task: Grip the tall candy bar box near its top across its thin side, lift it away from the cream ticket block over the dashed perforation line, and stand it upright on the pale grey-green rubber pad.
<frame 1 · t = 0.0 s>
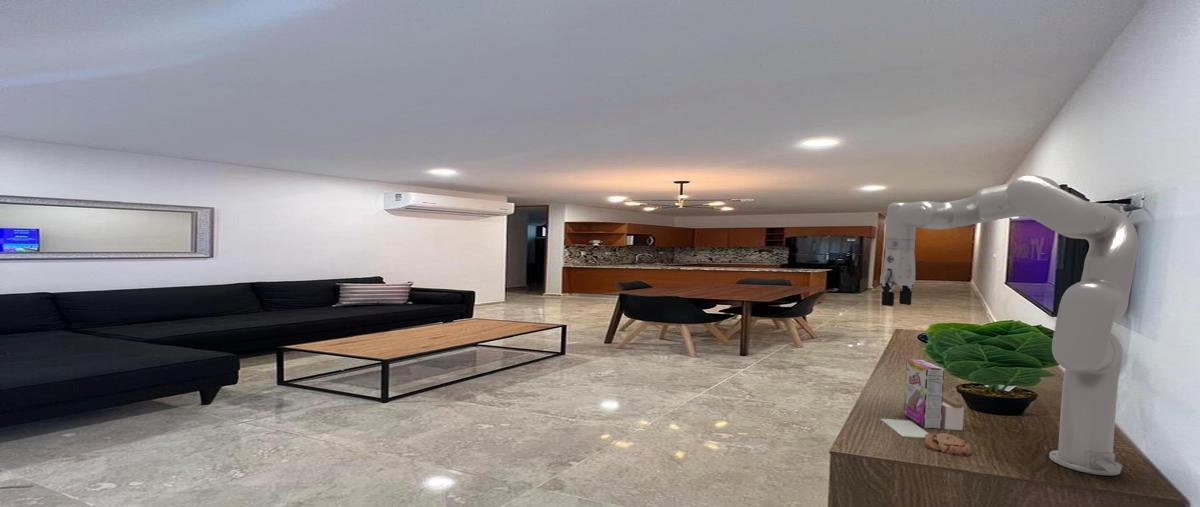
hand: (896, 305, 170), 31 cm above the tv stand, tool pointing down, fingers open, 9 cm apart
cookie: (946, 450, 142), on the tv stand
stub pad: (906, 428, 155), on the tv stand
ticket block: (942, 422, 162), on the tv stand
candy bar box: (921, 423, 162), on the tv stand
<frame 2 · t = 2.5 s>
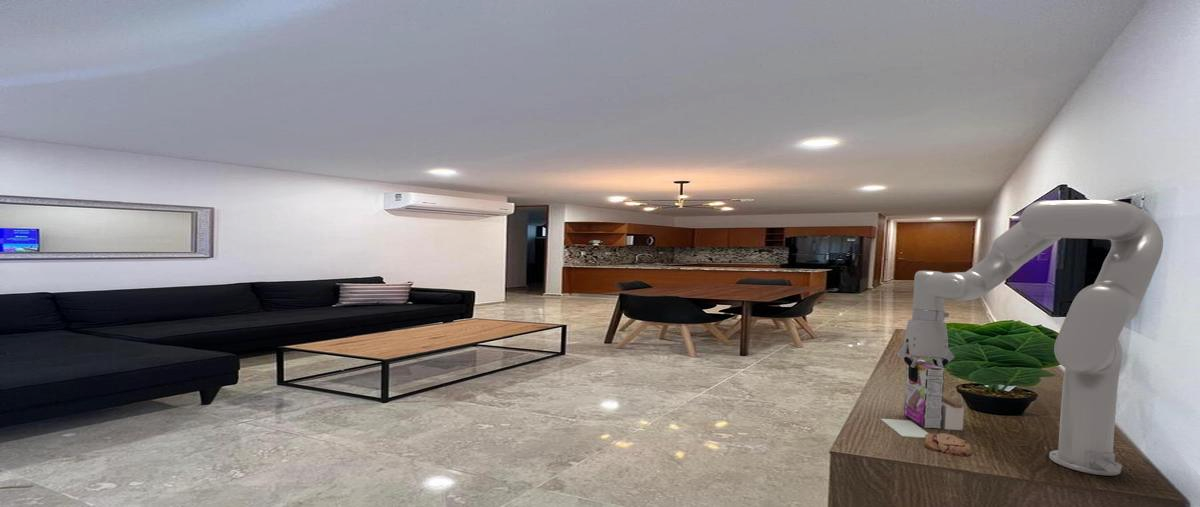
hand: (923, 381, 161), 11 cm above the tv stand, tool pointing down, fingers closed on candy bar box, 5 cm apart
candy bar box: (921, 423, 162), on the tv stand, touching gripper
everything else where it was.
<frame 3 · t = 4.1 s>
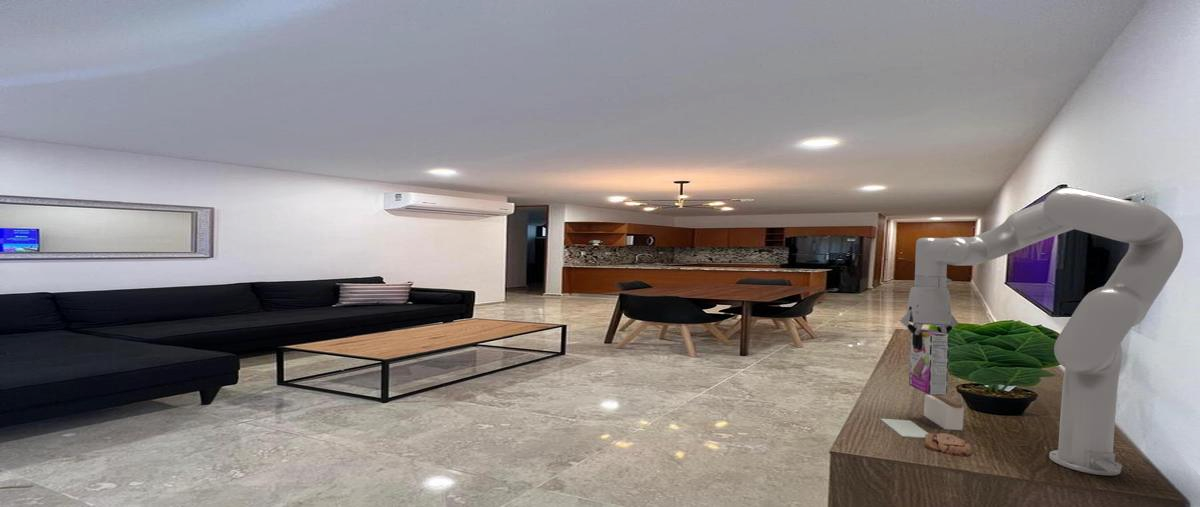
hand: (928, 348, 161), 21 cm above the tv stand, tool pointing down, fingers closed on candy bar box, 5 cm apart
candy bar box: (927, 391, 161), point 9 cm above the tv stand, touching gripper
everything else where it was.
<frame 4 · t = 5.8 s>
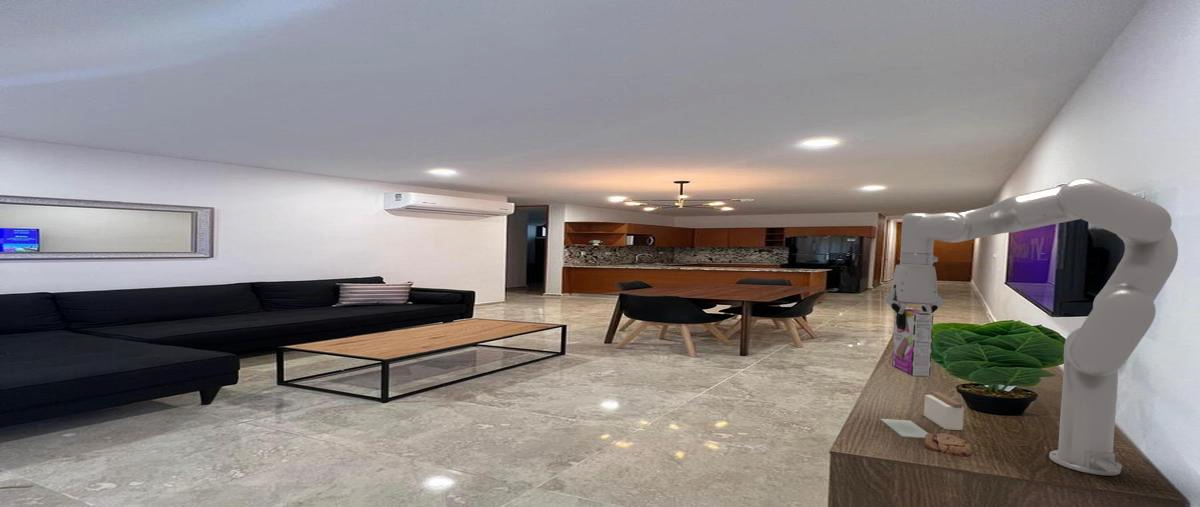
hand: (912, 328, 155), 27 cm above the tv stand, tool pointing down, fingers closed on candy bar box, 5 cm apart
candy bar box: (909, 372, 155), point 15 cm above the tv stand, touching gripper
everything else where it was.
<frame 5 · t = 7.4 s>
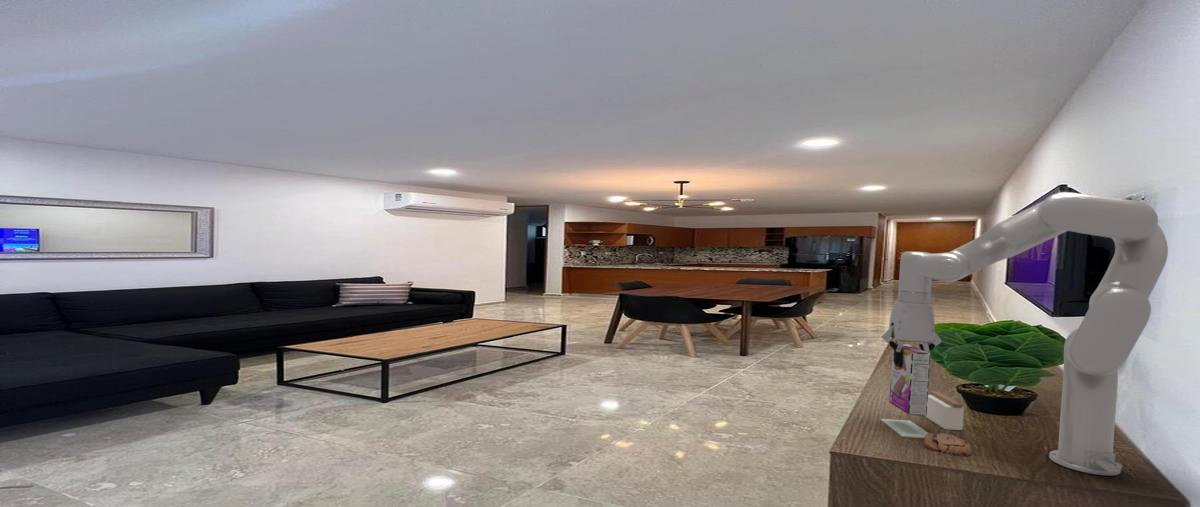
hand: (909, 366, 155), 17 cm above the tv stand, tool pointing down, fingers closed on candy bar box, 5 cm apart
candy bar box: (906, 410, 155), point 5 cm above the tv stand, touching gripper
everything else where it was.
when the fingers open (12 cm above the tv stand, at t = 8.7 s): candy bar box stays where it is, resting on stub pad.
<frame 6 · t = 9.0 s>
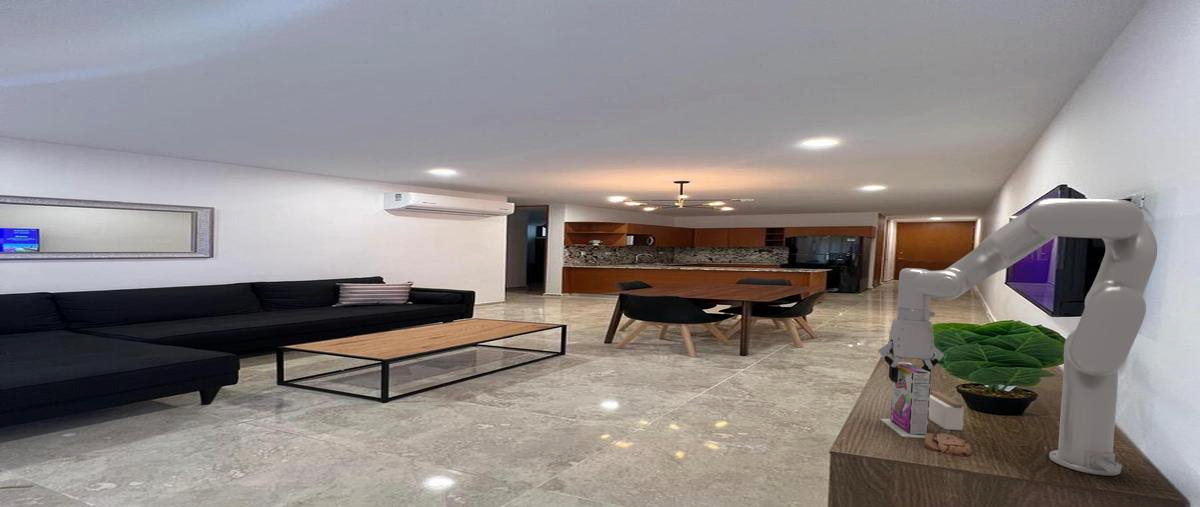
hand: (909, 381, 155), 13 cm above the tv stand, tool pointing down, fingers open, 7 cm apart
candy bar box: (907, 428, 155), resting on stub pad
everything else where it was.
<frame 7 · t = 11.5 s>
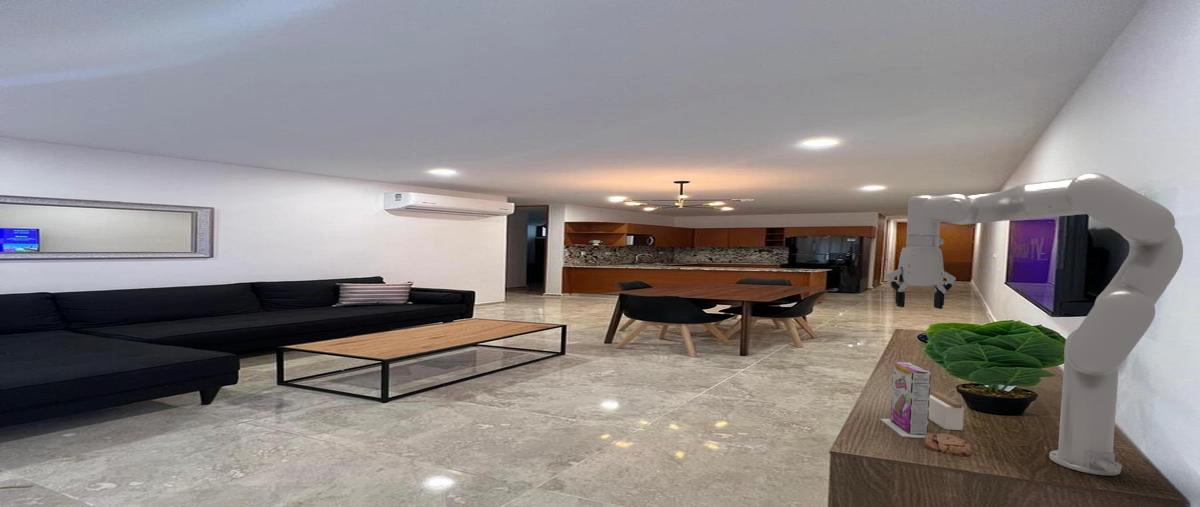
hand: (919, 307, 155), 32 cm above the tv stand, tool pointing down, fingers open, 9 cm apart
nothing on the tv stand moved.
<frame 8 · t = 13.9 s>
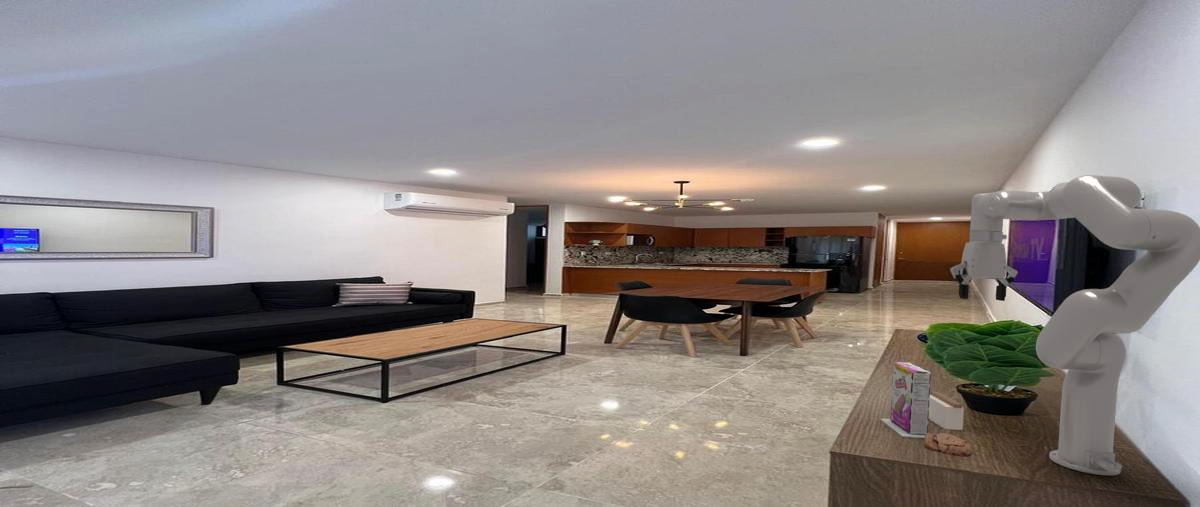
hand: (981, 299, 163), 34 cm above the tv stand, tool pointing down, fingers open, 9 cm apart
nothing on the tv stand moved.
at the end: candy bar box inside the target area on the stub pad (0.3 cm from its centre), point 0.1 cm above the stub pad's base; candy bar box tilted 0°; candy bar box moved 9.8 cm from its start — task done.
